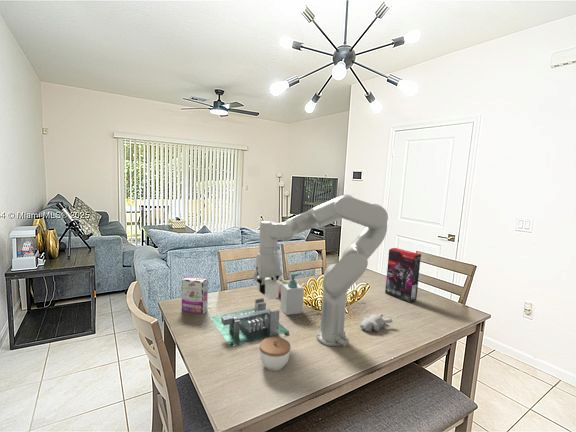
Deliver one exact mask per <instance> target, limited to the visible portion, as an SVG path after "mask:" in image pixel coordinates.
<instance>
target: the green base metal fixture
mask: <svg viewBox="0 0 576 432" xmlns="http://www.w3.org/2000/svg"><path fill="white" fill-rule="evenodd" d="M266 307H267V302H266V301H265V299H264V297H259V298H255V299H254V308H250V309H244V310H240V311H235V312H228V313H224V314H219V315H215V316H209V319H210V321H211V322H212V323H213V325H214V326H215V327H216V329H217V330H218V332H219V333H220V334H221V336H222V337H223V338H224V340H225V341H226V343H227V344H228V346H229V347H230V348H233V347H236V346H240V345H244V344H248V343H251V342H255V341H259V340H262V339H263V340H264V339H266V338H269V337H276V336H278V335H282V334H283V335H284V336H287V335H290V331H289V330H288V329H287V328H286V327H285V326H284V325H282V324H281V323H280V310H279V309H278V310H277V309H276V310H273V311H272V310H271V311H272V312H268V313H267V315H263V316H258V317H254V318H249V319H244V320H236V321H234V324H230V325H225V326H224V325H223V324H222V323H221V319H222V317H223V316H228V315H232V316H237V315H242V314H247V313H252V312H257V311H262V310H267V309H266Z"/></svg>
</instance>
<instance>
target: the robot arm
mask: <svg viewBox="0 0 576 432" xmlns="http://www.w3.org/2000/svg"><path fill="white" fill-rule="evenodd" d="M342 219H344V220H347V221H349V222H351V223H355V224H358V225H360V226H363V227H364V228H363V229H362V231H361V232H360V233H359V234H358V236H357V237H356V238H355V239H354V240H353V241H352V242H351V243H350V245H348V247H346V248H345V249H344V250H343V252H342V256H341V259H340V260H339V261H338V262H337V263H332V264H330V265H328V266H327V267H326V268H325V270H324V274H323V278H322V287H323V291H322V303H321V318H320V329H319V330H318V331H317V332H316V336H315V337H316V339H317V341H318V342H320V343H321V344H323V345H325V346H329V347H330V346H331V347H340V346H344V347H345V346H346V345H347V343H348V342H349V340H350V339H349V338H348V336H347V335H346V331H345V318H346V307H347V306H346V305H347V294H348V290H349V289H350V288H351V287H352V286H353V285H354V284H355V283H356V282H357V281H358V280H359V279H360V278H361V277H362V276H363V275H364V273H365V272H366V271H367V269H368V268H367V267H368V265H369V264H368V263H369V262H368V261H369V258H370V257H371V256H372V255H373V254H374V252H376V250H378V248H379V247H380V246H381V244H382V243H383V241H384V239H385V237H386V235H387V231H388V221H389V214H388V212H387V210H386V209H385V208H384V207H383V206H382V205H380V204H378V203H370V202H366V201H363V200H360V199H358V198H355V197H354V196H353V195H351V194H342V195H339V196H336V197H335V198H332V199H331V200H330V199H329V200H328V201H325V202H324V203H321V204H319V205H316V206H315V207H312V208H310V209H309V210H307V211H305V212H302V213H300V214H297V215H295V216H293V217H291V218H288V219H285V220H284V221H283V222H277V221H275V220H262V221H260V224H259V249H258V250H259V252H258V253H257V254H256V258H255V264H254V265H255V266H254V274H253V275H252V280H254V281H256V283H257V282H258V283H260V292H259V293H260V294H262V295H263V294H265V285H264V281H265V278H267V277H269V278H270V279H272V280H273V281H275V282H277V280H278V279H280V278H281V276H282V275H283V272H282V270H281V261H280V253H279V252H278V251H279V250H280V249H281V247H280V246H278V243H279V242H278V241H282V242H288V241H291V240H292V239H293V238H294V237H296V235H298V234H301V233H303V232H306V231H308V230H311V229H314V228H316V229H317V228H318V229H319V228H323V227H326V226H327V225H331V224H333V223H335V222H338V221H340V220H342ZM257 276H259V278H257Z"/></svg>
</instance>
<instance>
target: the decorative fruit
mask: <svg viewBox="0 0 576 432" xmlns="http://www.w3.org/2000/svg"><path fill="white" fill-rule="evenodd" d="M277 283H278V284H279V291H278V296H281V284H282V283H289V282H288V281H287V280H285V279H283V278H282V277H280V278H278V280H277Z"/></svg>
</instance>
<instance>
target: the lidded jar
mask: <svg viewBox="0 0 576 432" xmlns="http://www.w3.org/2000/svg"><path fill="white" fill-rule="evenodd" d="M290 353H291V343H290V342H289V341H288V339H285V338H283V337H278V336H271V337H267V338H264V339H263V340H262V339H261V341H260V343H259V357H260V361H261V364H263V366H265V368H266V370H269V371H273V372H276V371H280V370H282V368H283V367H284V366H286V364H287V363H288V361H289V359H290V356H291V355H290Z"/></svg>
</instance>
